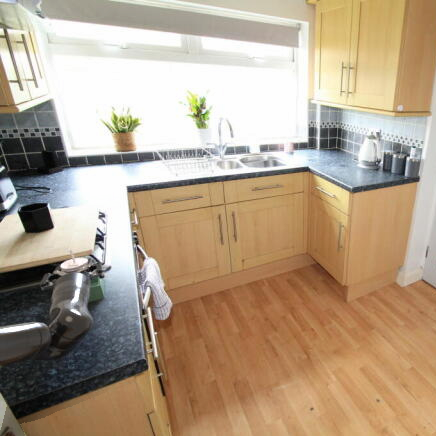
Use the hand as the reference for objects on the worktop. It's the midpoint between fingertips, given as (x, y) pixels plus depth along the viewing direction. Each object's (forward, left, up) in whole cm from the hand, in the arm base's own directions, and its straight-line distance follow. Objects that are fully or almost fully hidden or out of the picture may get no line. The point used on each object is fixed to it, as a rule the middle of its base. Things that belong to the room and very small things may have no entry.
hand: (76, 264), depth 94 cm
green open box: (0, -2, -9) cm, 10 cm away
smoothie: (0, -2, -8) cm, 9 cm away
